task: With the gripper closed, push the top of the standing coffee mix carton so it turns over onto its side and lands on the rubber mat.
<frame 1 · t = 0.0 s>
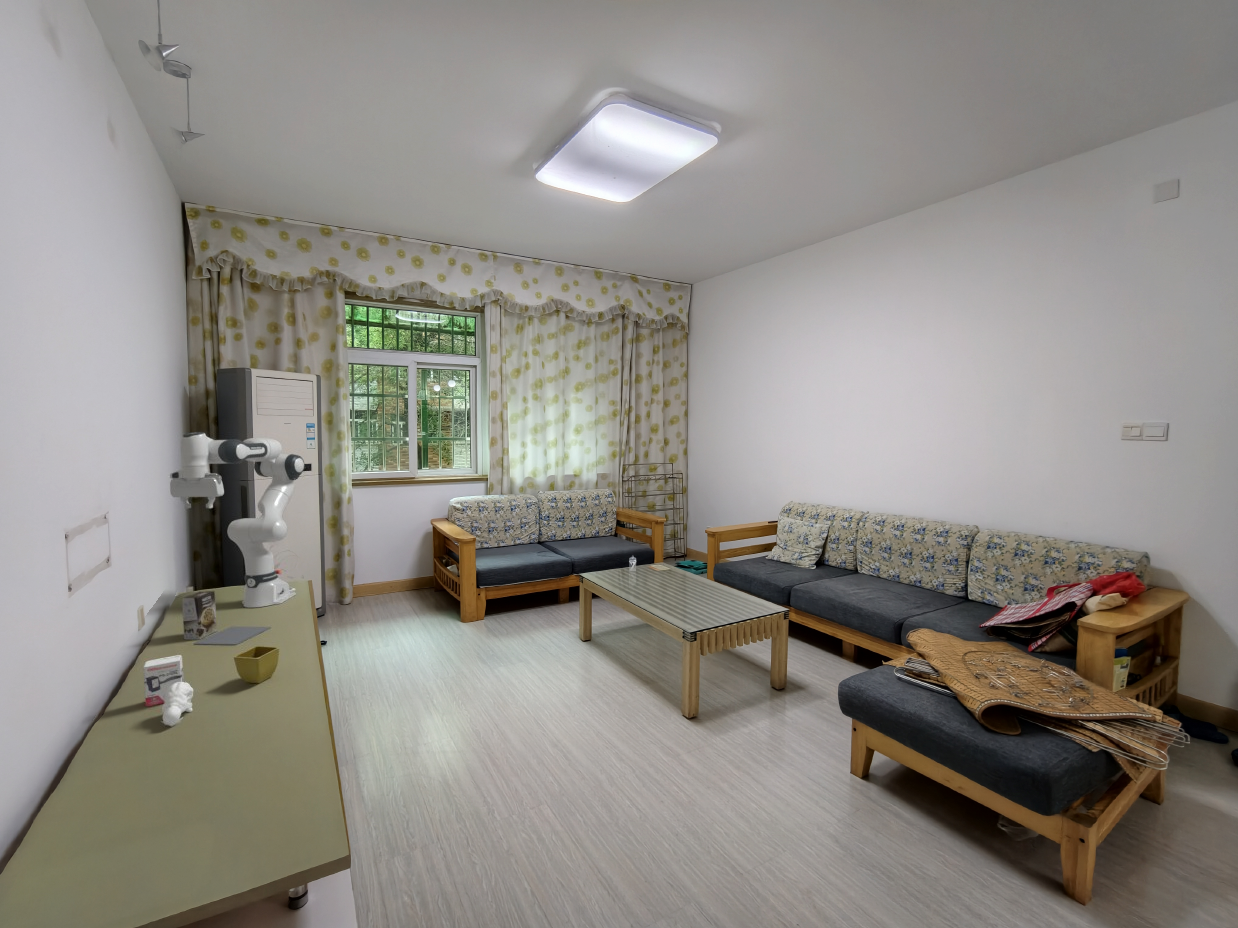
hand: (198, 508, 224), 48 cm above the table, fingers open, 8 cm apart
white figurine: (176, 719, 153), on the table
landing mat: (233, 635, 216), on the table
ink box: (165, 700, 164), on the table
coffee box: (201, 635, 217), on the table
flower pot: (258, 680, 176), on the table
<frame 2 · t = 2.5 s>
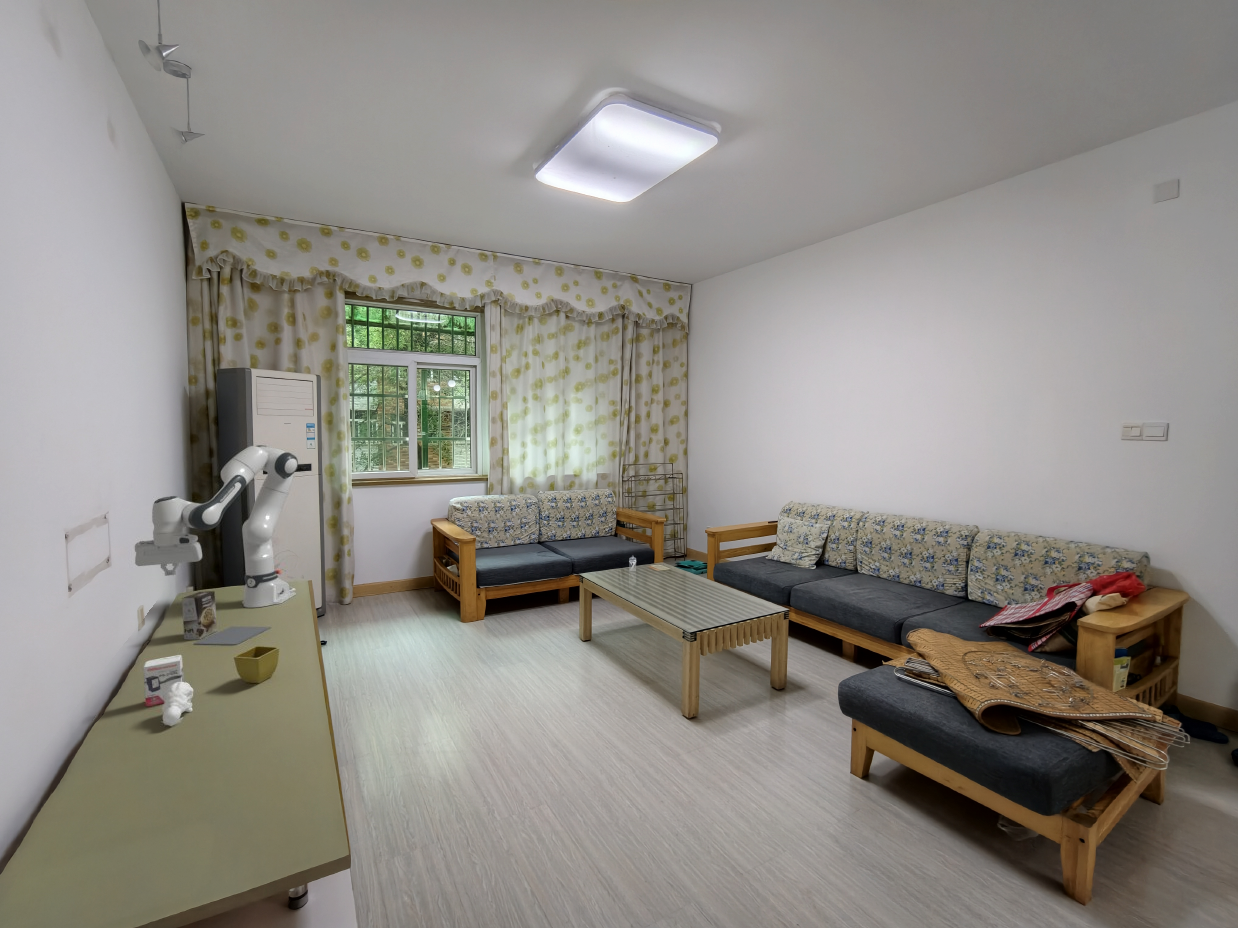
hand: (170, 575, 217), 24 cm above the table, fingers closed
nothing on the table moved.
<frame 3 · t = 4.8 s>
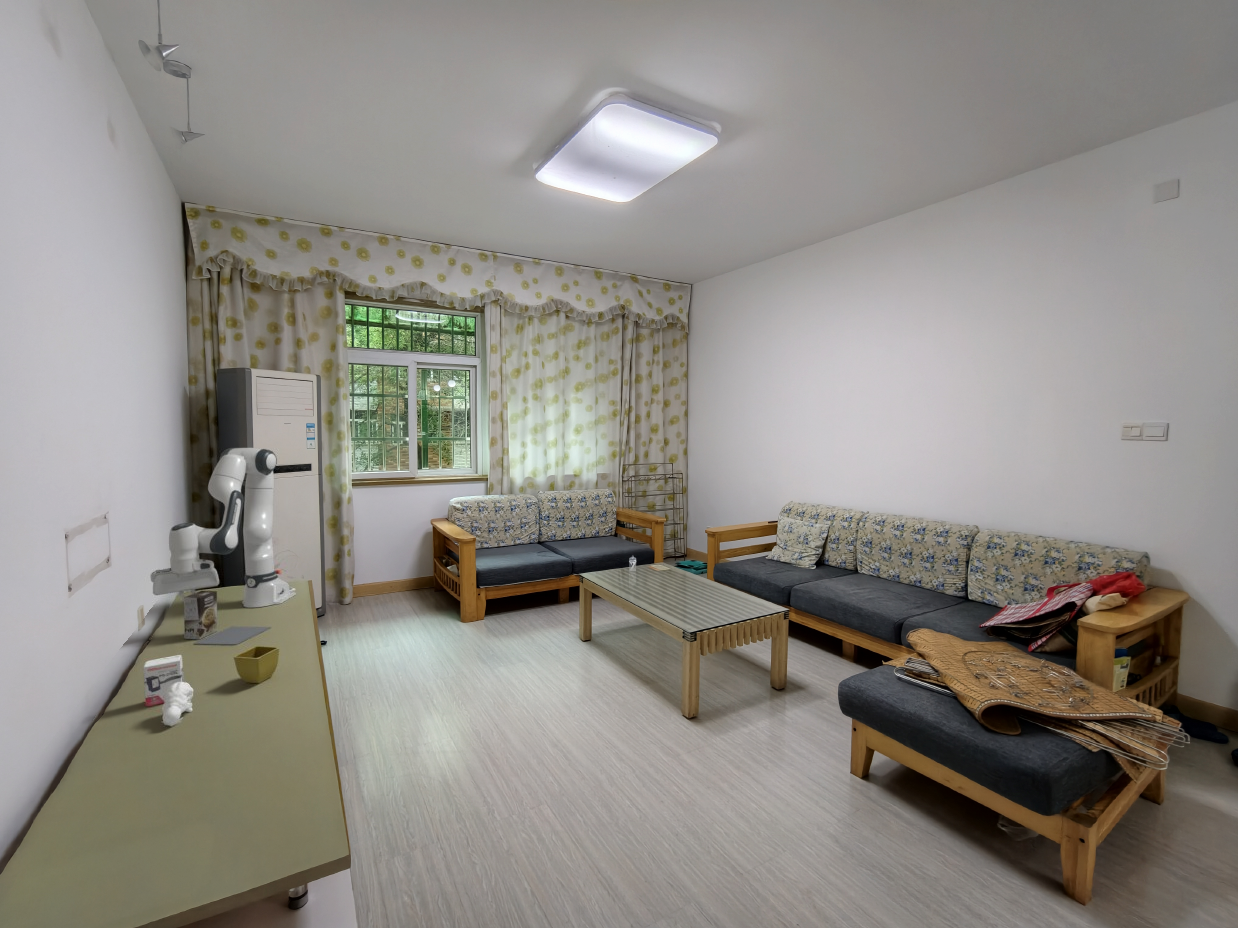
hand: (187, 601, 217), 13 cm above the table, fingers closed
coffee box: (201, 635, 217), on the table, touching gripper
everything else where it was.
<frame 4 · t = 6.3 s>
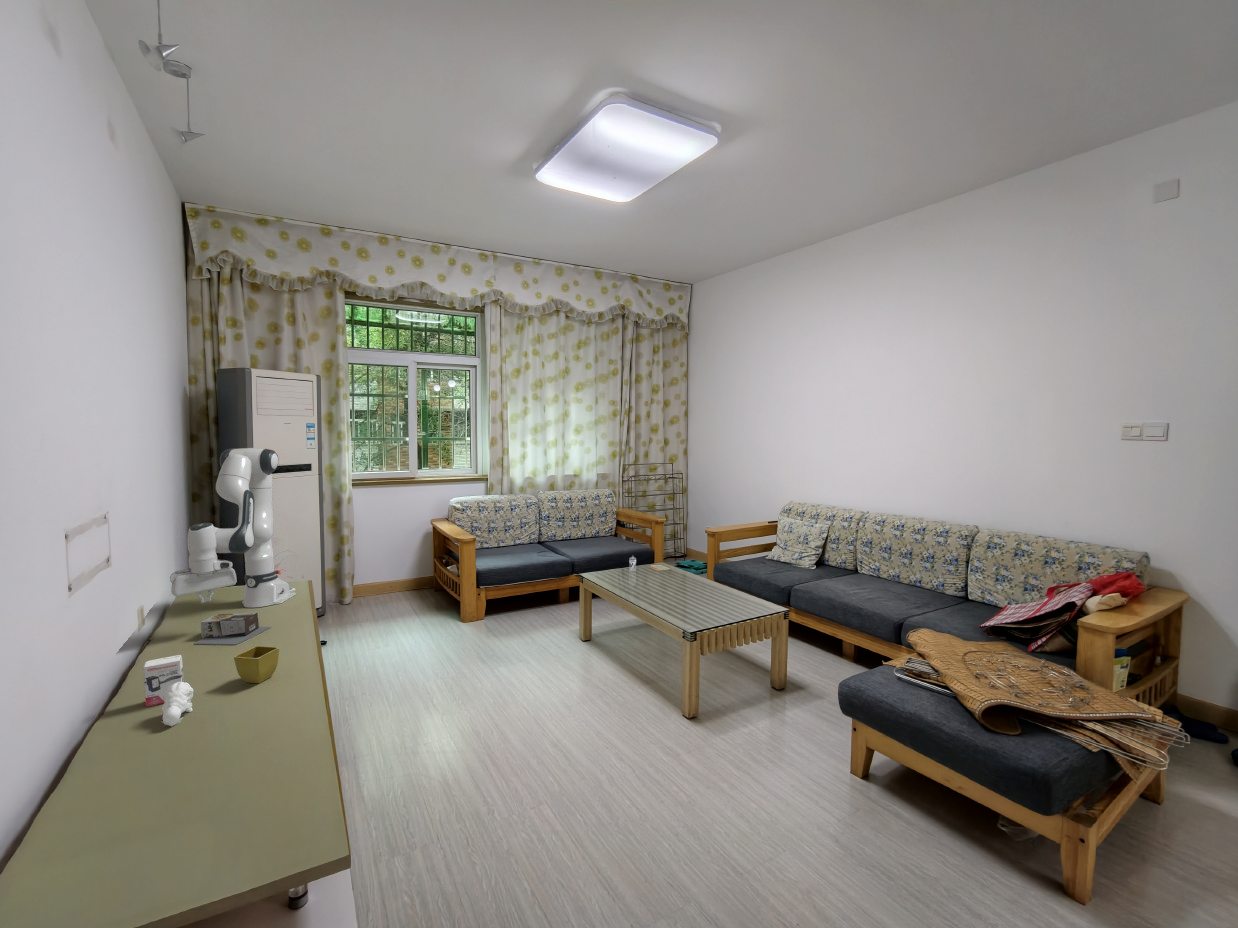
hand: (206, 601, 216), 13 cm above the table, fingers closed
coffee box: (208, 625, 217), point 4 cm above the table, touching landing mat
everything else where it was.
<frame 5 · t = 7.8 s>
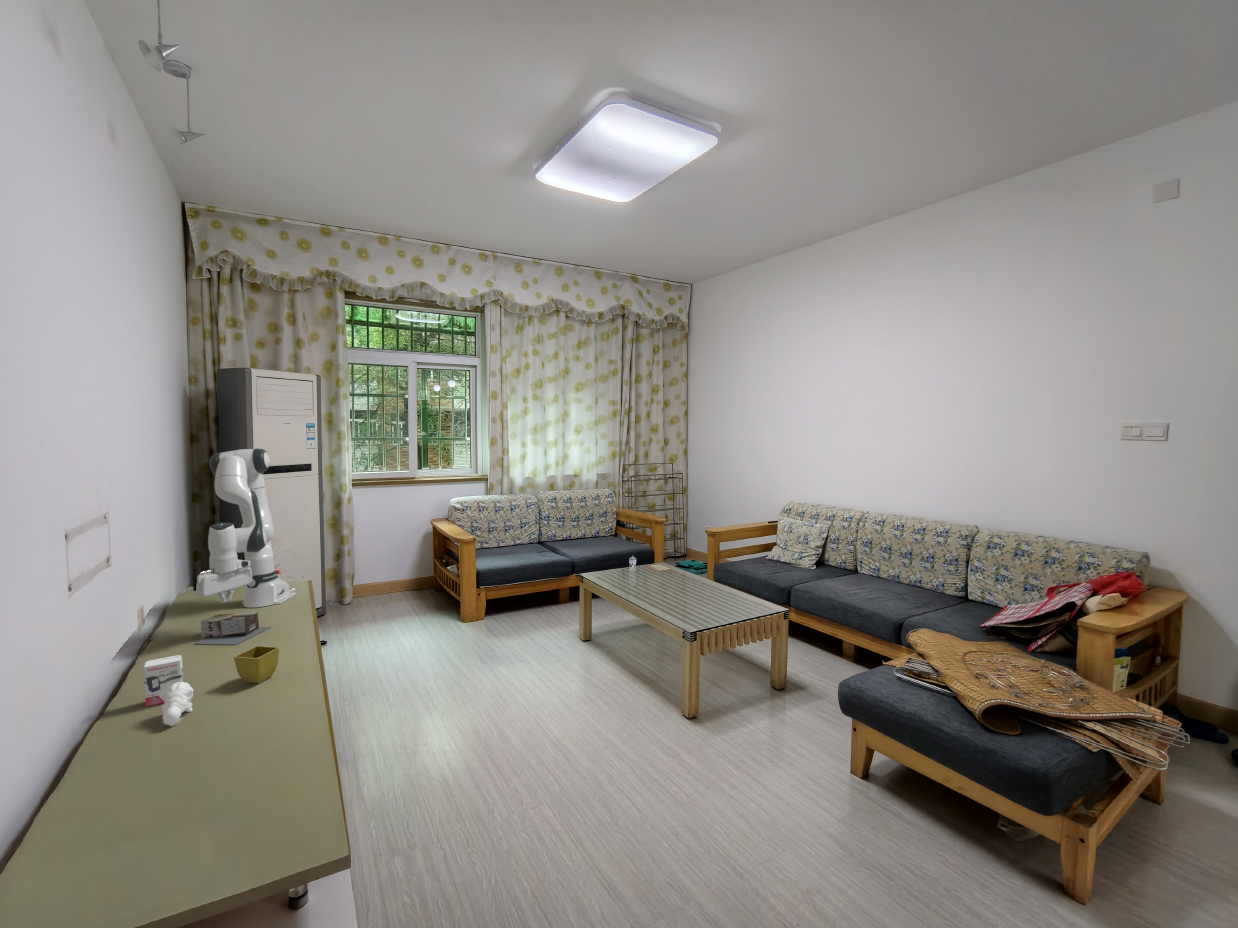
hand: (226, 601, 215), 13 cm above the table, fingers closed
nothing on the table moved.
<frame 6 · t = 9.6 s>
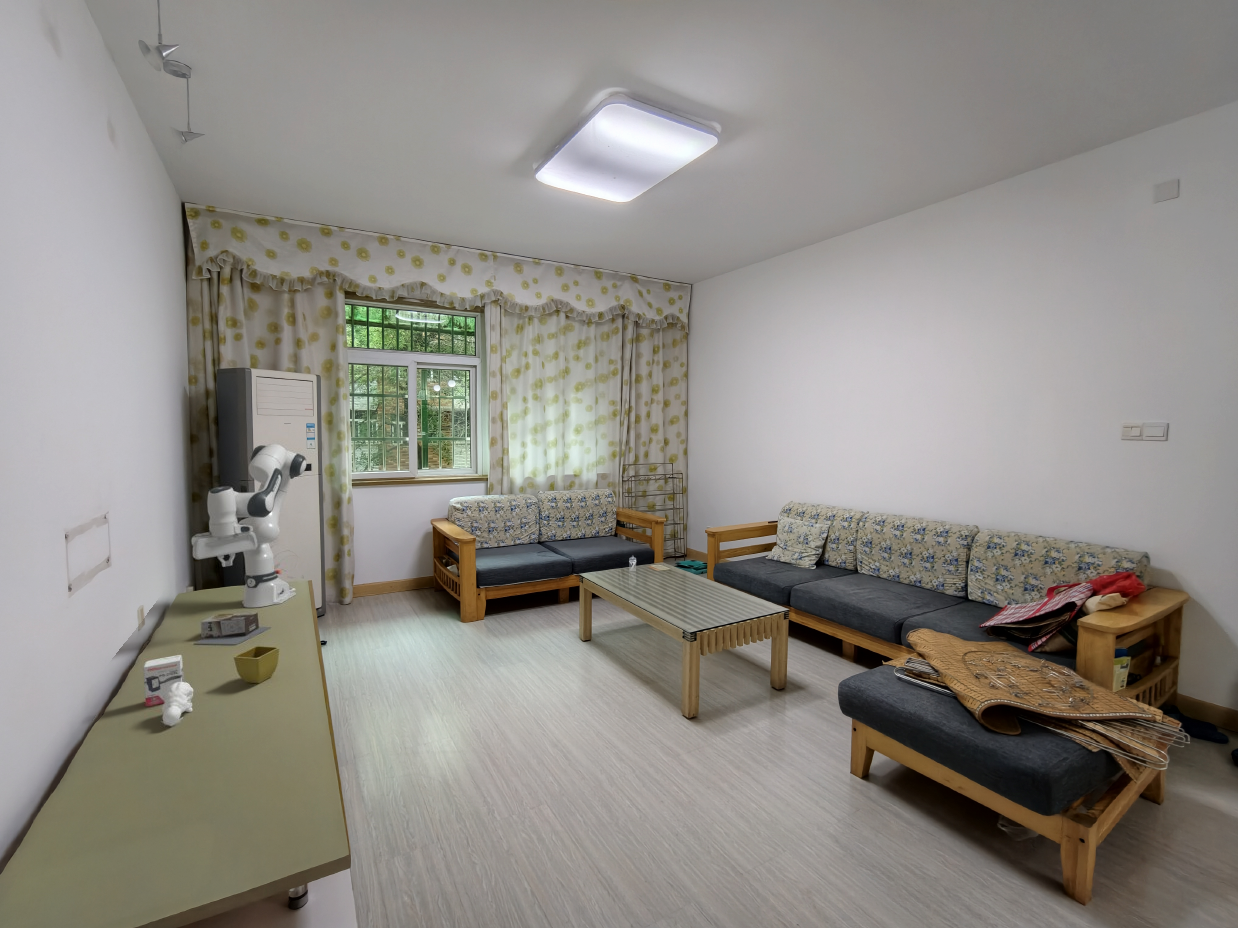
hand: (227, 565, 214), 27 cm above the table, fingers closed
nothing on the table moved.
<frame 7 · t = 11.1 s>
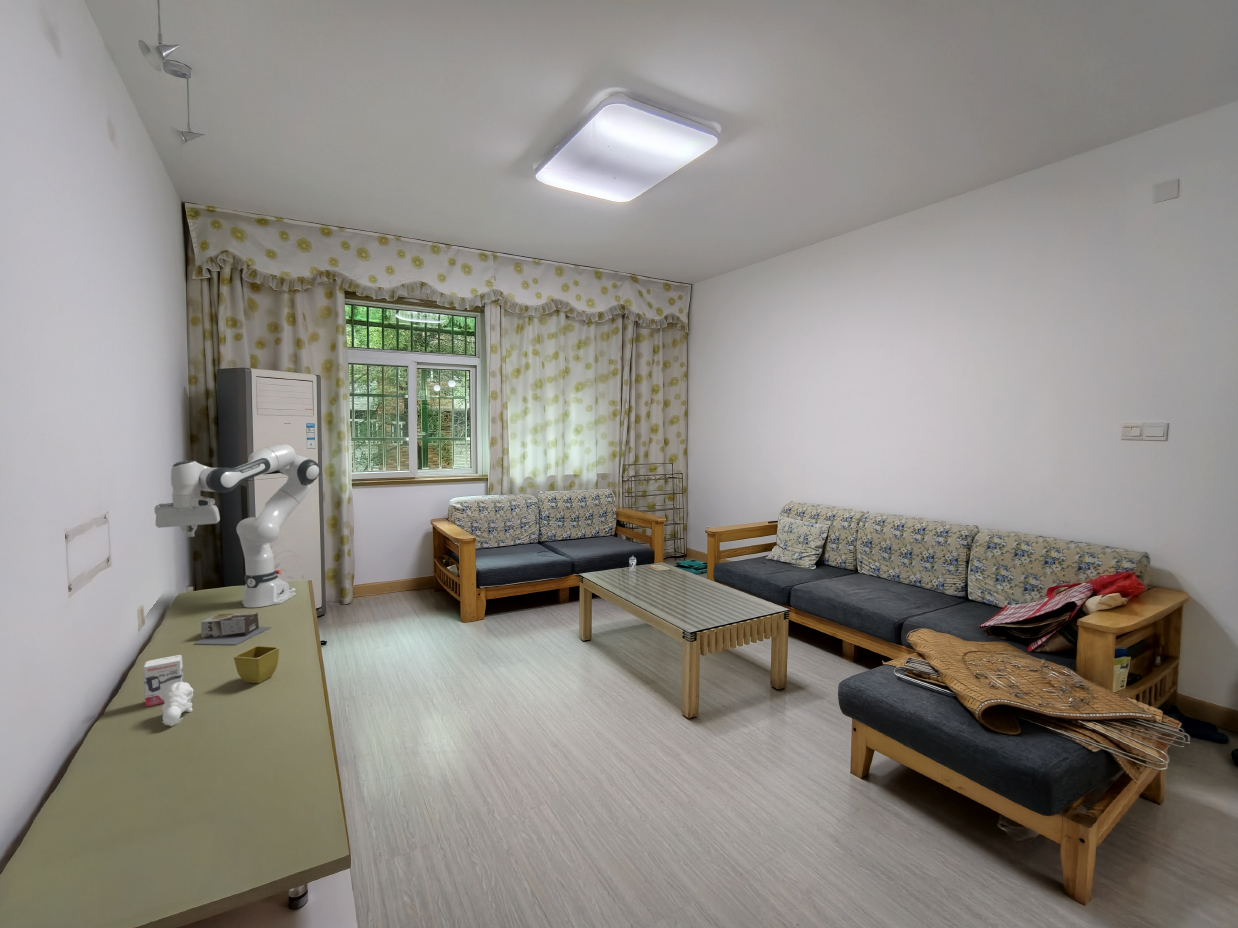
hand: (189, 536, 223), 37 cm above the table, fingers closed
nothing on the table moved.
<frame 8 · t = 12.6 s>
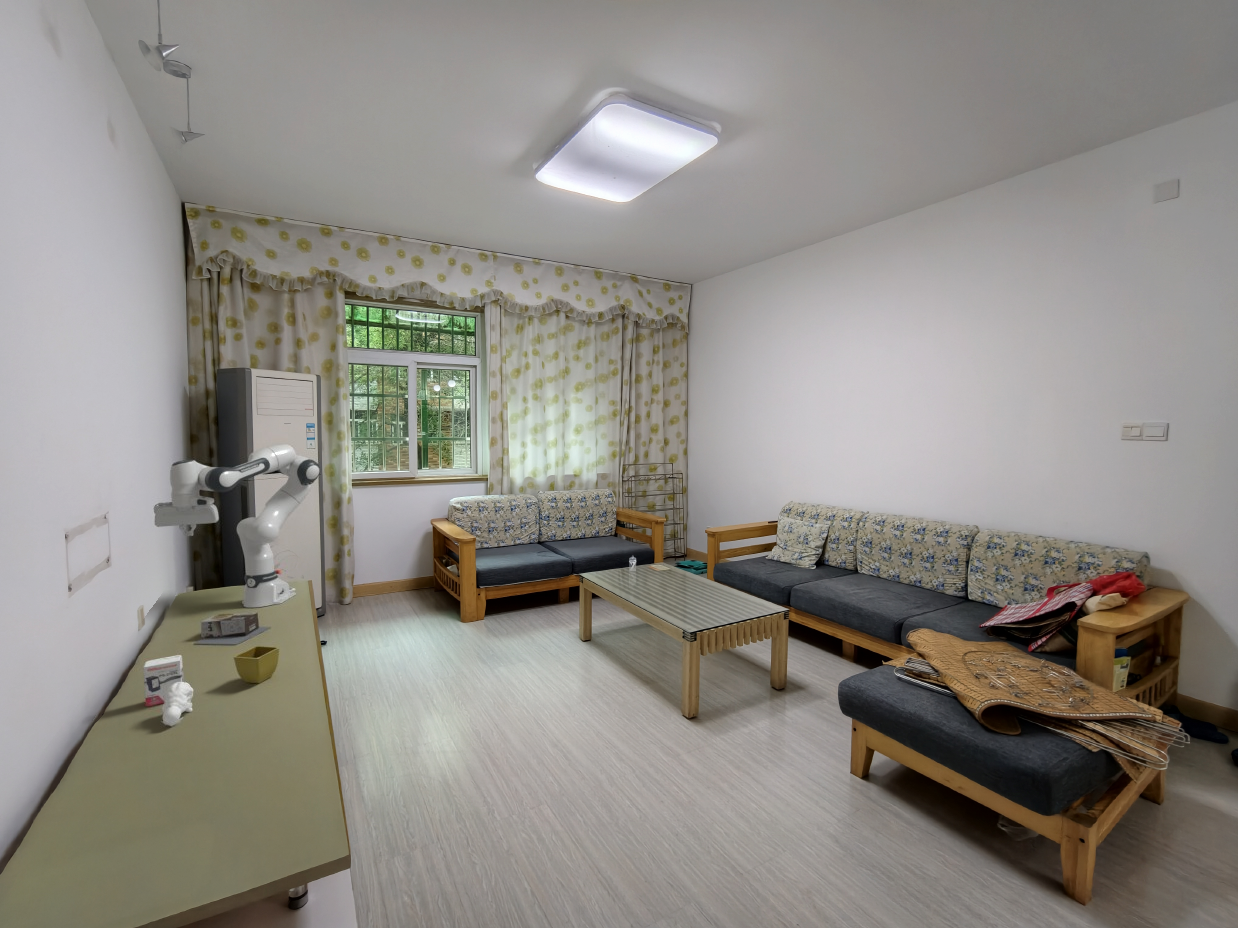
hand: (188, 535, 224), 37 cm above the table, fingers closed
nothing on the table moved.
at the end: coffee box tilted 90°; coffee box inside the target area (2.8 cm from its centre), point 3.6 cm above the table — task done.
